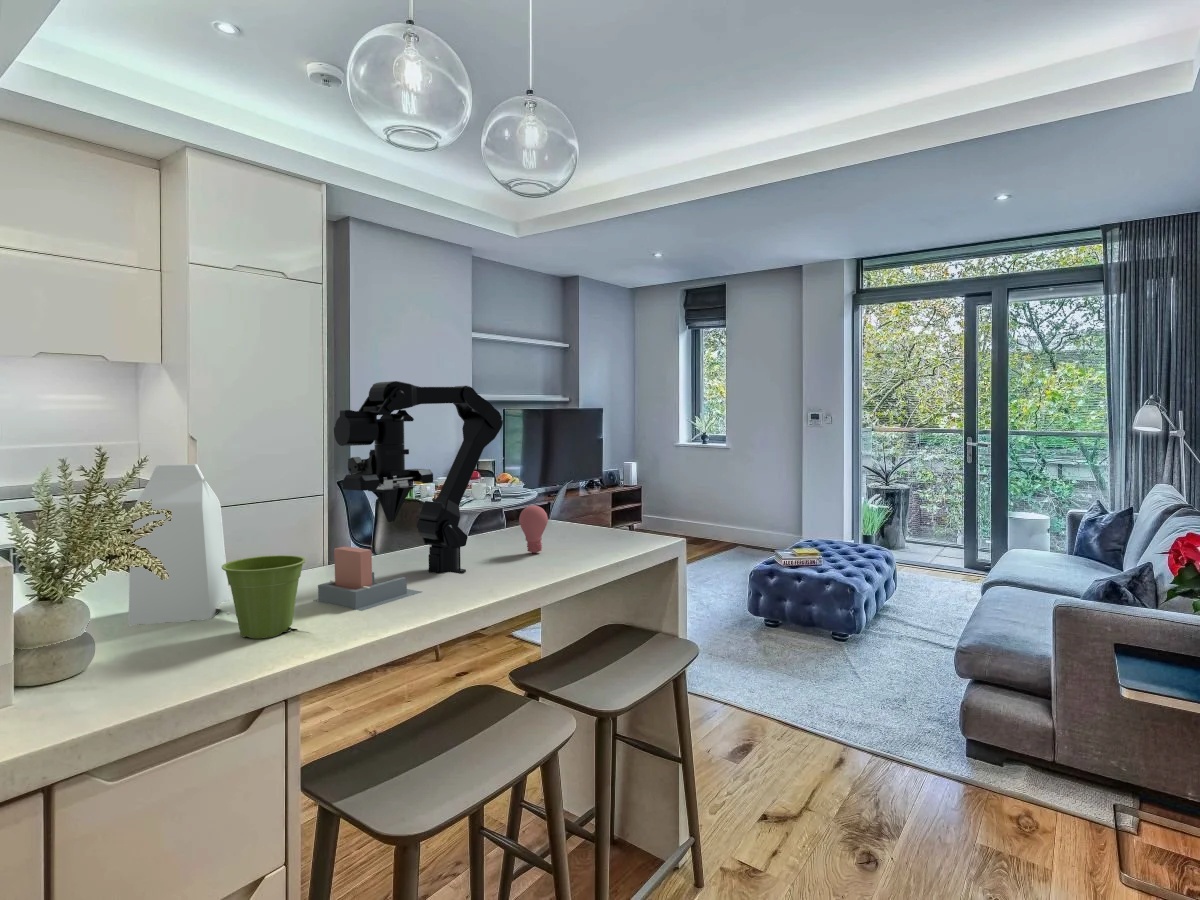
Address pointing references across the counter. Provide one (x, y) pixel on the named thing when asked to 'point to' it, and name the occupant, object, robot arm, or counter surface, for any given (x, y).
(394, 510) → the robot arm
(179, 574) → the milk
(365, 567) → the upright terracotta block
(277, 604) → the plant pot
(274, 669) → the counter surface
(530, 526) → the light bulb
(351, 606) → the dock
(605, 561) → the counter surface
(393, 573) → the counter surface
